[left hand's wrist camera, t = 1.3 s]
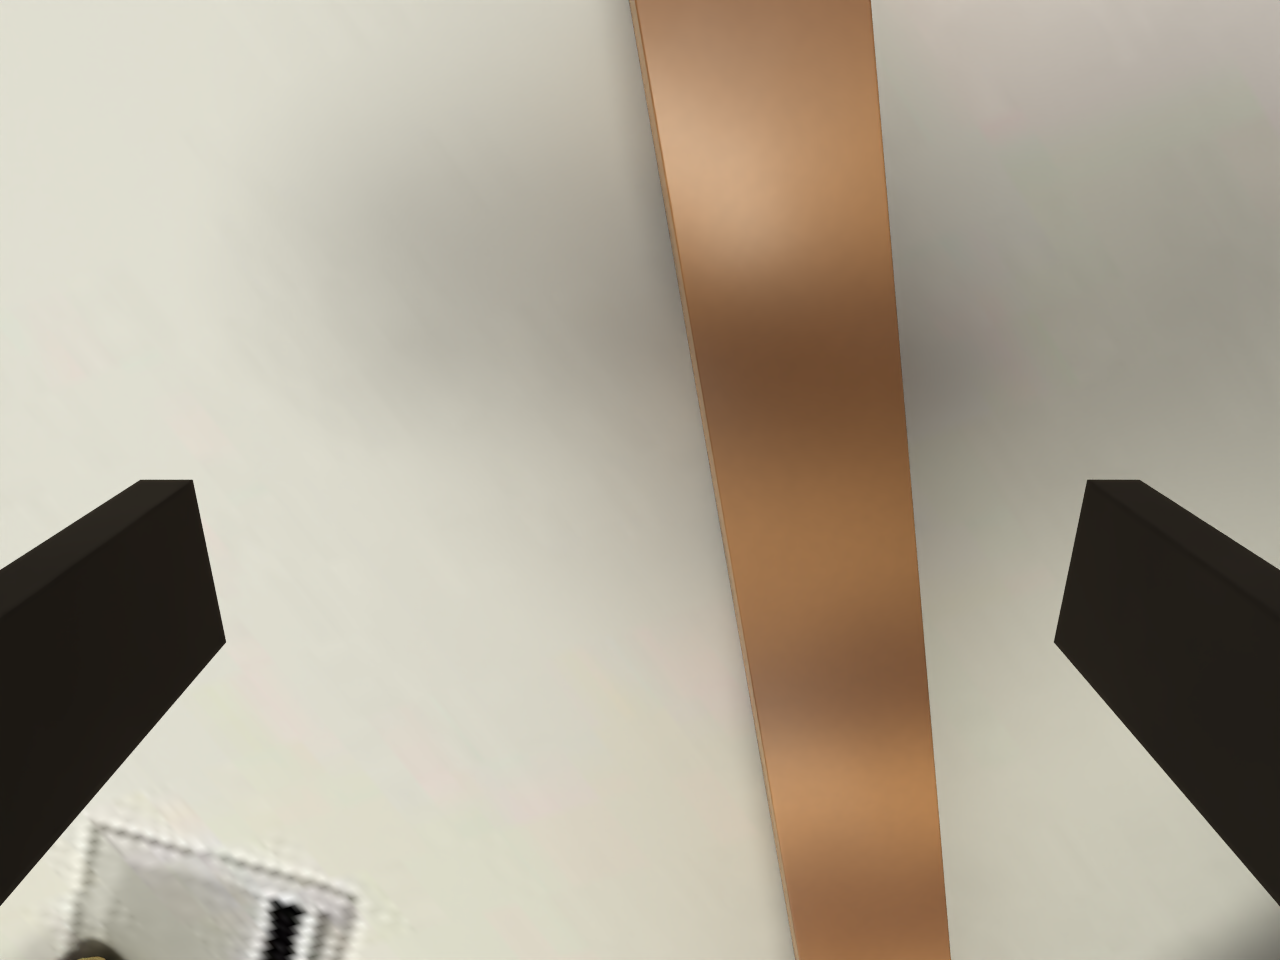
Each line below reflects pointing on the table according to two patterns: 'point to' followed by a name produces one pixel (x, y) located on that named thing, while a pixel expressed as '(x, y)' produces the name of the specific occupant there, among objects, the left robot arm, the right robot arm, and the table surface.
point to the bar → (806, 445)
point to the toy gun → (93, 958)
